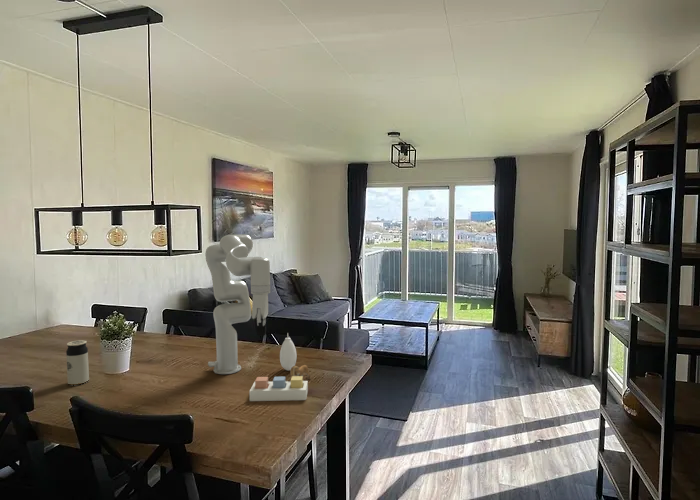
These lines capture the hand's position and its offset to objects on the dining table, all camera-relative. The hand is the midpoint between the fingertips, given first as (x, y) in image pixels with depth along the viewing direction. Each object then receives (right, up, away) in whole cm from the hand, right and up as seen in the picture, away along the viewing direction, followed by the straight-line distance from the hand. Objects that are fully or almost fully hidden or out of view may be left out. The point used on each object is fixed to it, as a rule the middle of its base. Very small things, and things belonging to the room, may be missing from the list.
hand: (261, 334), depth 173 cm
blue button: (+7, -22, +2) cm, 23 cm away
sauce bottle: (+6, -23, +33) cm, 41 cm away
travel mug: (-85, -25, +18) cm, 90 cm away
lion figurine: (+14, -24, +16) cm, 32 cm away
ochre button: (+14, -22, +2) cm, 26 cm away
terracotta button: (0, -22, +1) cm, 22 cm away
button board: (+7, -25, +2) cm, 26 cm away
